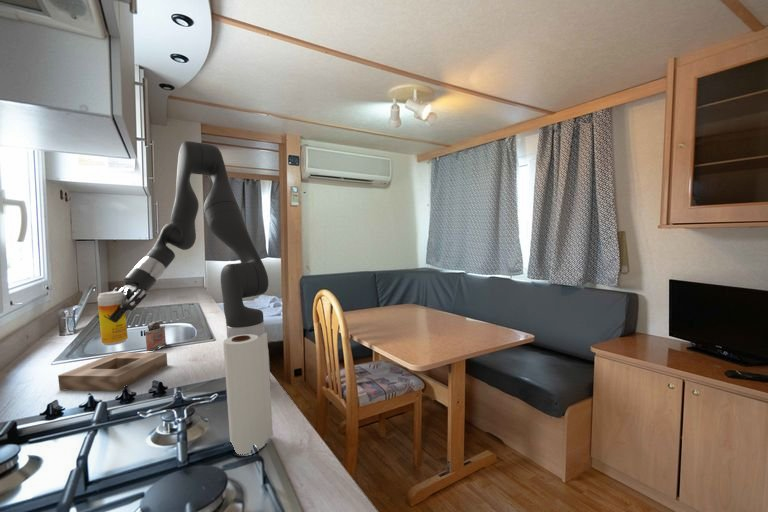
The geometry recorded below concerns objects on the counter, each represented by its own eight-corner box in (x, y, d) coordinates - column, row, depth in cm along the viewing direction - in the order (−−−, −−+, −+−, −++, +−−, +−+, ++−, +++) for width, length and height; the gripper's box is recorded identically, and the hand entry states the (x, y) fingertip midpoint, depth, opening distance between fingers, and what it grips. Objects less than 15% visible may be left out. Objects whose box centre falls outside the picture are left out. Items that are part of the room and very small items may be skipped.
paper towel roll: (227, 460, 63) (219, 344, 61) (234, 441, 69) (227, 334, 67) (268, 454, 64) (261, 340, 63) (273, 436, 70) (266, 331, 68)
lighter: (151, 352, 125) (149, 324, 125) (143, 352, 126) (141, 324, 125) (169, 345, 133) (167, 319, 133) (161, 344, 134) (159, 319, 133)
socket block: (167, 365, 112) (166, 353, 111) (118, 390, 94) (117, 376, 94) (116, 364, 114) (115, 352, 113) (59, 389, 96) (58, 375, 96)
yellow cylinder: (117, 345, 100) (112, 294, 99) (96, 346, 100) (91, 294, 99) (132, 339, 106) (128, 290, 105) (113, 339, 106) (108, 291, 105)
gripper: (122, 266, 111) (81, 311, 102) (149, 267, 105) (107, 315, 95) (141, 280, 117) (104, 324, 107) (168, 282, 110) (130, 329, 100)
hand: (106, 319), depth 101 cm, fingers closed on yellow cylinder, 6 cm apart
